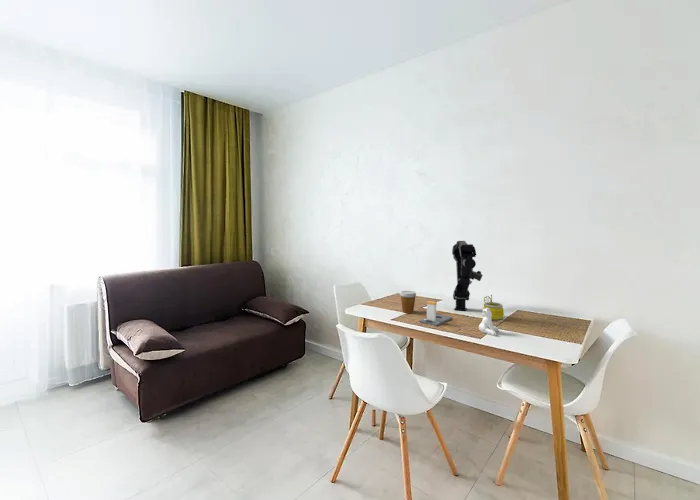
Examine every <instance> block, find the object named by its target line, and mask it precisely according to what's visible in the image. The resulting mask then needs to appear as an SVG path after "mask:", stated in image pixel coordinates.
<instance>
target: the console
mask: <svg viewBox="0 0 700 500" xmlns="http://www.w3.org/2000/svg"><path fill="white" fill-rule="evenodd" d="M451 320H453V317H452V316H449V315H443V314H438V313H436V321H435V322H433V321H432V320H427V317H425V318H422V319H420V320H419V322H420V323H419V324H424V323H425V324H424V325H428V324H430V325H429V326H432V325H434V326H433V327H438V326H440V325H443V324H444V323H446V322H449V321H451ZM437 325H438V326H437Z"/></svg>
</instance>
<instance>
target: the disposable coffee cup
mask: <svg viewBox="0 0 700 500" xmlns="http://www.w3.org/2000/svg"><path fill="white" fill-rule="evenodd" d="M399 295H400V299H401V300H400V301H401V310H402V313H403V314H413V313H414V310H415V309H414V308H415V301H416V297H417V293H416V291H411V290H402V291H400V293H399Z"/></svg>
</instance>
